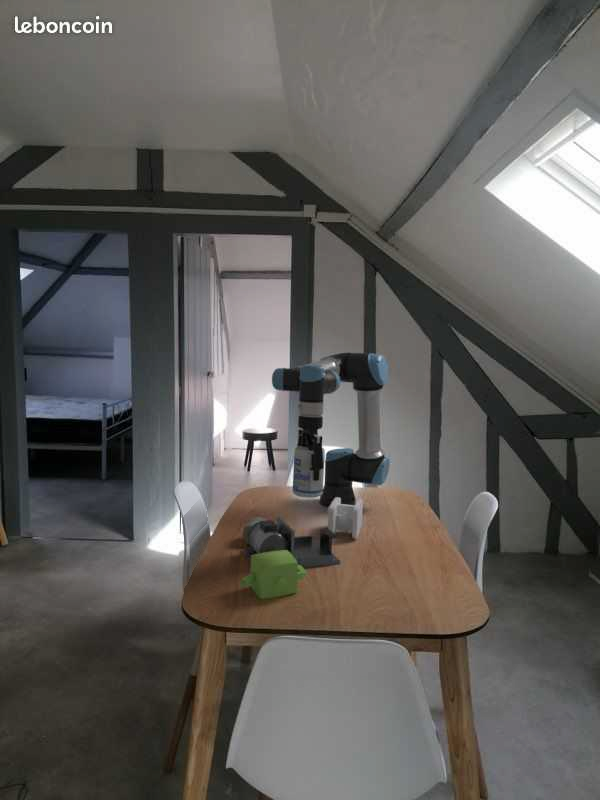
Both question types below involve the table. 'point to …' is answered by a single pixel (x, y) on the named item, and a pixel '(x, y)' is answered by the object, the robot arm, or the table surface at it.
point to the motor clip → (291, 543)
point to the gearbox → (274, 574)
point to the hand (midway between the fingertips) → (308, 486)
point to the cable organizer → (345, 517)
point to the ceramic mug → (249, 525)
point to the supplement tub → (305, 473)
